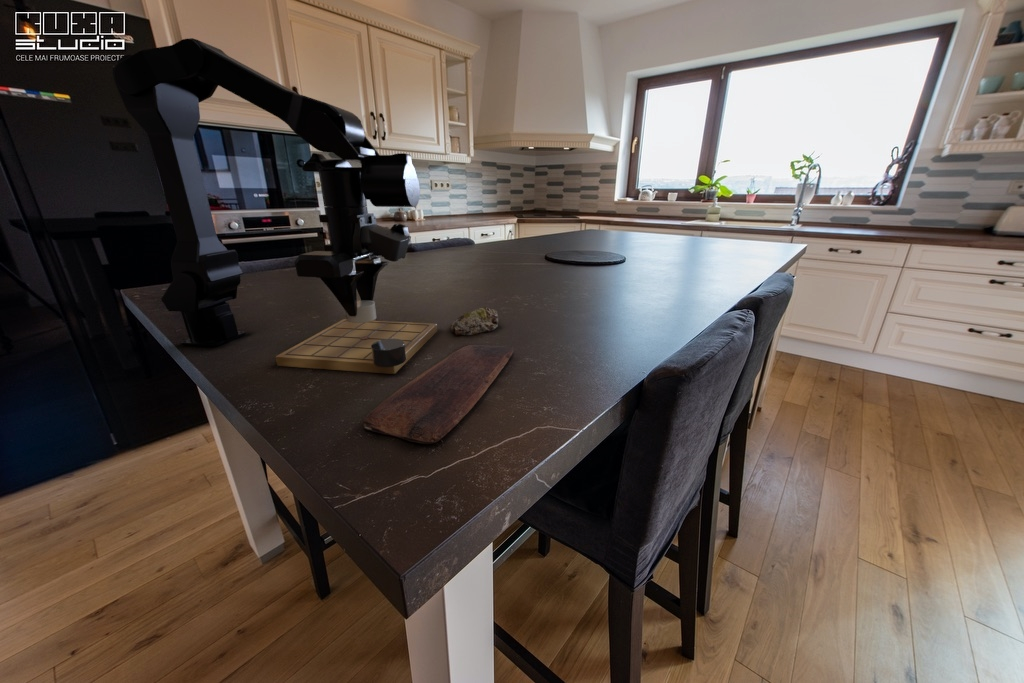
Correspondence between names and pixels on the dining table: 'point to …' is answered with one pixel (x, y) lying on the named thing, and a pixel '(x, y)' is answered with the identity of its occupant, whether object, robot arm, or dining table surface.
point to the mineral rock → (476, 322)
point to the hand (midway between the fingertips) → (360, 311)
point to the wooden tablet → (439, 395)
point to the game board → (355, 345)
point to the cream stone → (363, 312)
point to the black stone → (388, 352)
